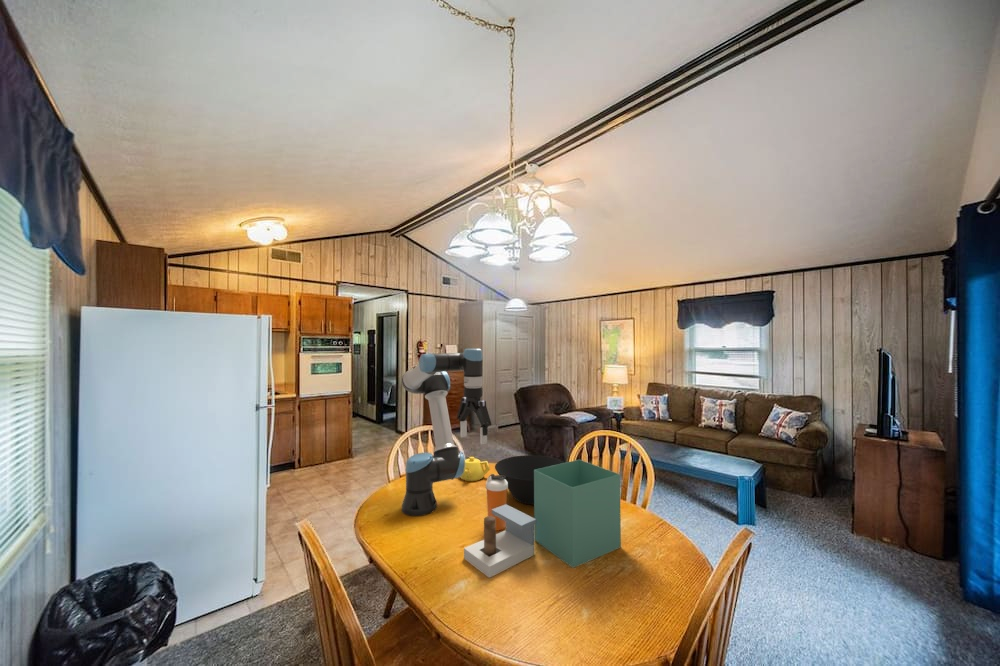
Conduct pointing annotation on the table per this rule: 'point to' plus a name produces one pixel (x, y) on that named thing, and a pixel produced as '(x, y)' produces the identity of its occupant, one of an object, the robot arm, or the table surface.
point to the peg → (489, 536)
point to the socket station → (505, 543)
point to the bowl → (523, 474)
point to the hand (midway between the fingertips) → (473, 440)
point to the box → (577, 511)
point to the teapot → (474, 469)
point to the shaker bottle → (496, 496)
